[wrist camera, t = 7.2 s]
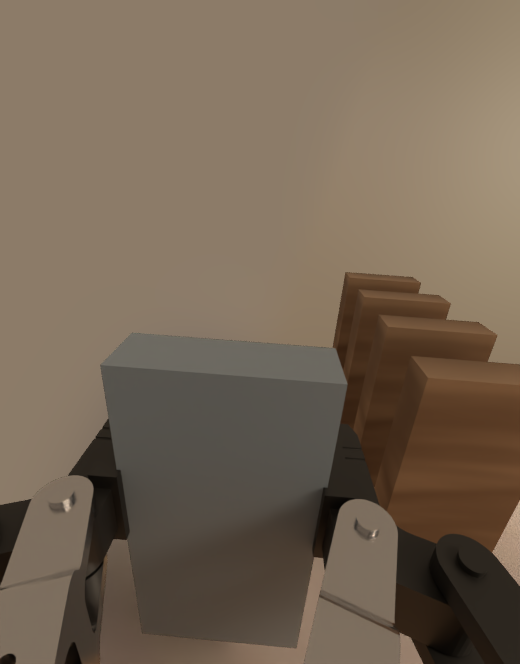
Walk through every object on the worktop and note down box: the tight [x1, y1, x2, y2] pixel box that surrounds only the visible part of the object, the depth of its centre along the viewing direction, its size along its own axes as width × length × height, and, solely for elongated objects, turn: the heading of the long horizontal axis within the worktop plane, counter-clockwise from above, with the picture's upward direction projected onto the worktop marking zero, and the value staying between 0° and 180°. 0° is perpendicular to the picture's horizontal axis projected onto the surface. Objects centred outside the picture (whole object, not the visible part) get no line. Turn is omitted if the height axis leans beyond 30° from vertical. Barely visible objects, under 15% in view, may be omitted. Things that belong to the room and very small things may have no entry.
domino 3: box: [340, 289, 450, 429], centre depth 22 cm, size 2×5×10 cm, turn 88°
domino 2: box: [333, 272, 421, 369], centre depth 26 cm, size 2×5×10 cm, turn 88°
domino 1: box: [101, 333, 348, 648], centre depth 10 cm, size 2×5×10 cm, turn 87°
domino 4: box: [353, 315, 497, 487], centre depth 18 cm, size 2×5×10 cm, turn 88°
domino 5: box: [374, 356, 520, 553], centre depth 14 cm, size 2×5×10 cm, turn 88°
